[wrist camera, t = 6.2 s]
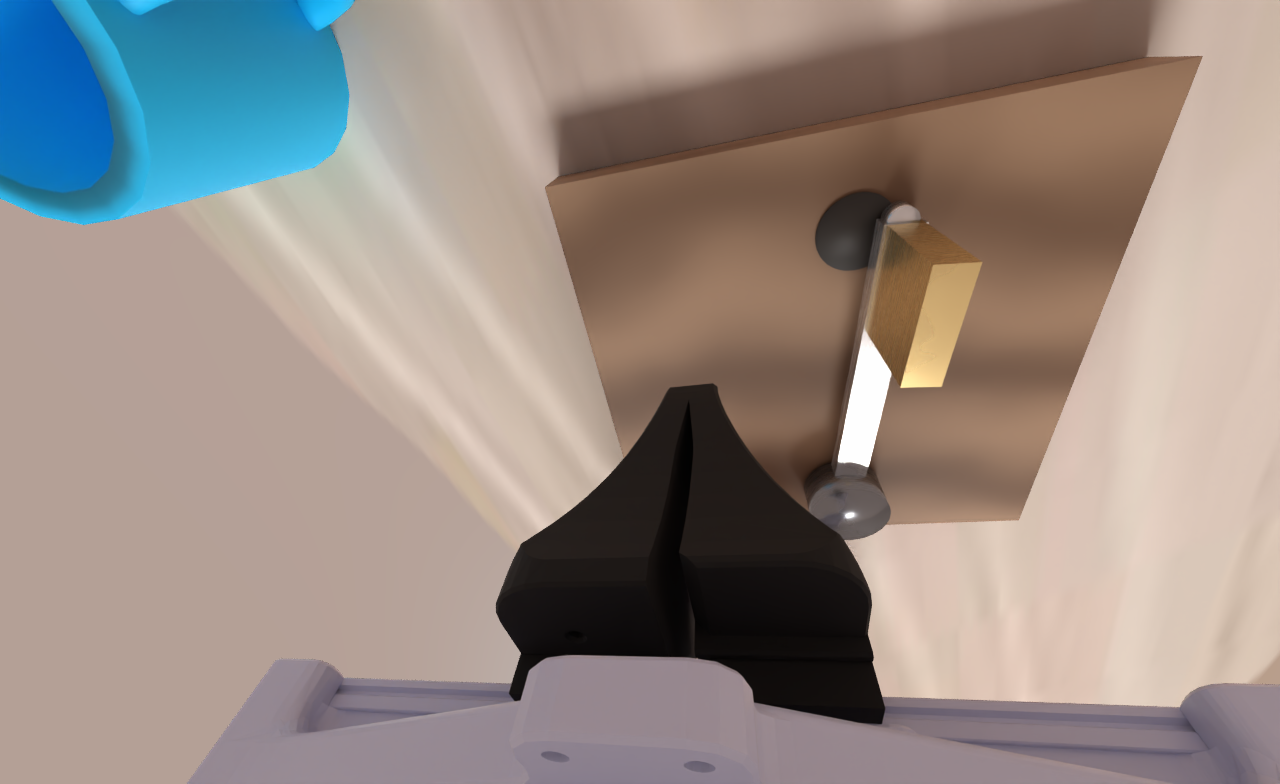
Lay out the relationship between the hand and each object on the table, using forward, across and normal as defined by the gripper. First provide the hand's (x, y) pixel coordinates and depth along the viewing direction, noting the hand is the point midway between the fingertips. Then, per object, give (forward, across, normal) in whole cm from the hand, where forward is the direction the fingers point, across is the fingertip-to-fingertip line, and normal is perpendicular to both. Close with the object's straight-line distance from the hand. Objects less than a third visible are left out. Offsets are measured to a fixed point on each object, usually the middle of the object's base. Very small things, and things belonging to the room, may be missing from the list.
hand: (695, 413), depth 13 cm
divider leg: (+7, -7, +5) cm, 11 cm away
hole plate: (+9, -5, +4) cm, 11 cm away
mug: (+10, +14, -12) cm, 21 cm away
